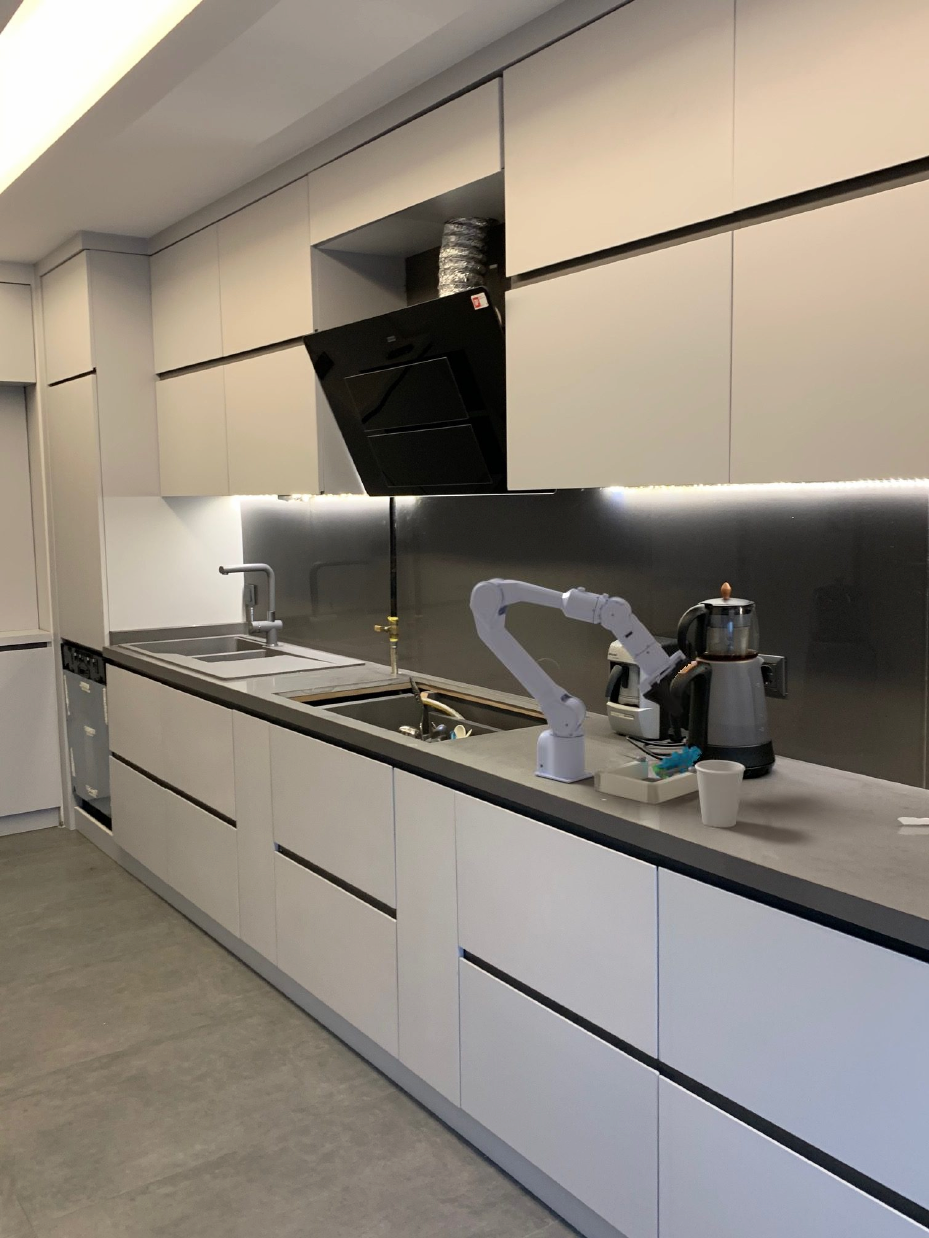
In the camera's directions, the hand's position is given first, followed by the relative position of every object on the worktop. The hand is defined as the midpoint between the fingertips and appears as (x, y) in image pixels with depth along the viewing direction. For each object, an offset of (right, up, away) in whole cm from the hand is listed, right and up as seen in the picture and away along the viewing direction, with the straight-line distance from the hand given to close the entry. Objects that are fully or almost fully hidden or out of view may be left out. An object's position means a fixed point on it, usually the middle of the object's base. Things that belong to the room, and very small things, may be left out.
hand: (688, 705), depth 208 cm
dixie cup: (0, -19, -23) cm, 30 cm away
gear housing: (-8, -16, -1) cm, 18 cm away
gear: (-2, -16, +4) cm, 16 cm away
